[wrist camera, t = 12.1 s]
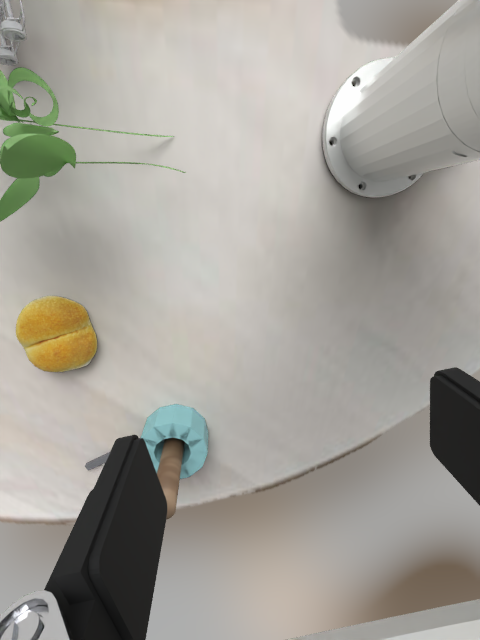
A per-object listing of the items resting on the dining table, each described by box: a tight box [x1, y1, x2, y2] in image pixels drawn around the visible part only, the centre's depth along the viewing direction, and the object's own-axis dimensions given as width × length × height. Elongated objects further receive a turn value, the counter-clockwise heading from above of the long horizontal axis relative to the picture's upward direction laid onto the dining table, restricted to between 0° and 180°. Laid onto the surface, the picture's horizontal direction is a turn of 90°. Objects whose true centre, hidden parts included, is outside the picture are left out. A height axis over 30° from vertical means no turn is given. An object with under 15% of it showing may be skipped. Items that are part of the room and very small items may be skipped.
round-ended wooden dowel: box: [157, 437, 185, 519], centre depth 37 cm, size 3×3×12 cm
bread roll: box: [16, 296, 97, 372], centre depth 35 cm, size 8×9×4 cm
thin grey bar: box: [85, 438, 140, 470], centre depth 42 cm, size 9×1×1 cm, turn 116°
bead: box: [141, 404, 208, 479], centre depth 40 cm, size 8×8×4 cm
